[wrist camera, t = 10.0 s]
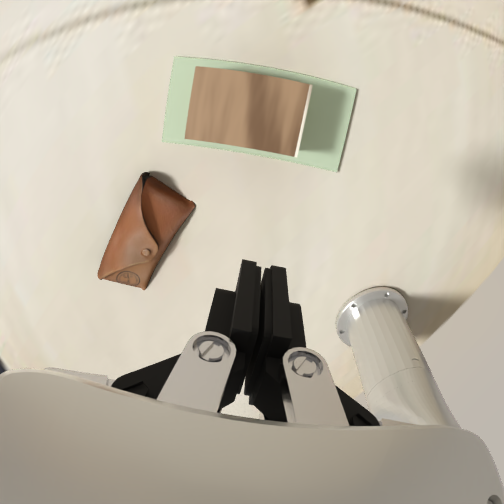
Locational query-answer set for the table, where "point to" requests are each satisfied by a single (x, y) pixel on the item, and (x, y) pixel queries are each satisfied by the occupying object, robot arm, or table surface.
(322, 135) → the felt mat
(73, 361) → the table surface
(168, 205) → the sunglasses case
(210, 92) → the walnut block
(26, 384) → the robot arm
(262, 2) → the table surface
